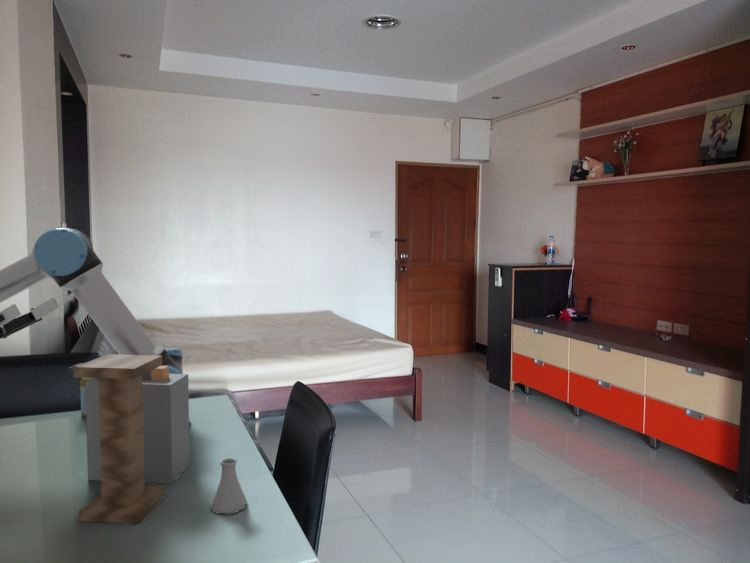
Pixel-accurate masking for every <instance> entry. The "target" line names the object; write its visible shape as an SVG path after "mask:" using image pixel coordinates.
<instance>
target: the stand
mask: <svg viewBox="0 0 750 563" xmlns="http://www.w3.org/2000/svg"><path fill="white" fill-rule="evenodd" d="M83 363H84V364H81V365H78V366H76V367H74V371H75V377H85V378H98V382H99V420H100V458H101V481H100V486H101V488H100V489H101V493H99V494H98V495H97V496H96V497H94V498H93V499H92V500H90V501H89V502H88V503H87V504H86V505H84V506H83V507H82V508H81V509H80V510H78V521H79V522H87V523H88V522H89V523H90V522H91V523H111V524H112V523H113V524H131V525H132V524H134V525H139V524H140V523H141V521H142V520H143V519H144V518H145V517H146V516H147V515H148V514H149V513H150V512H151V511H152V510H151V509H152V508H153V507H154V506H155V507H156V506H157V504H159V503H160V502H161V500H162V499H163V498H164V497H165V496H166V492H165V490H166V489H165V488H166V487H165V486H154V485H153V486H149V485H148V486H147V485H145V482H144V437H143V387H142V375H144V374H146V373H147V372H149V371H151V370H153V369H155V368H157V367H159V366H161V365H162V356H157V355H121V354H118V353H113V354H111V353H108V354H105V355H103V356H99V357H97V358H94V359H92V360H89V361H87V362H83ZM164 495H165V496H164ZM163 496H164V497H163ZM162 497H163V498H162ZM161 498H162V499H161ZM155 507H154V508H155ZM154 508H153V509H154ZM150 510H151V511H150ZM149 511H150V512H149ZM148 512H149V513H148ZM146 514H147V515H146ZM145 515H146V516H145ZM144 516H145V517H144Z"/></svg>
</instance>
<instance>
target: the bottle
mask: <svg viewBox="0 0 750 563" xmlns="http://www.w3.org/2000/svg"><path fill="white" fill-rule="evenodd" d="M91 379H94V378H81V380H80V386H79V389H80V415H81V416H83V417H84V418H86V397H85V382H87V381H89V380H91Z"/></svg>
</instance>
